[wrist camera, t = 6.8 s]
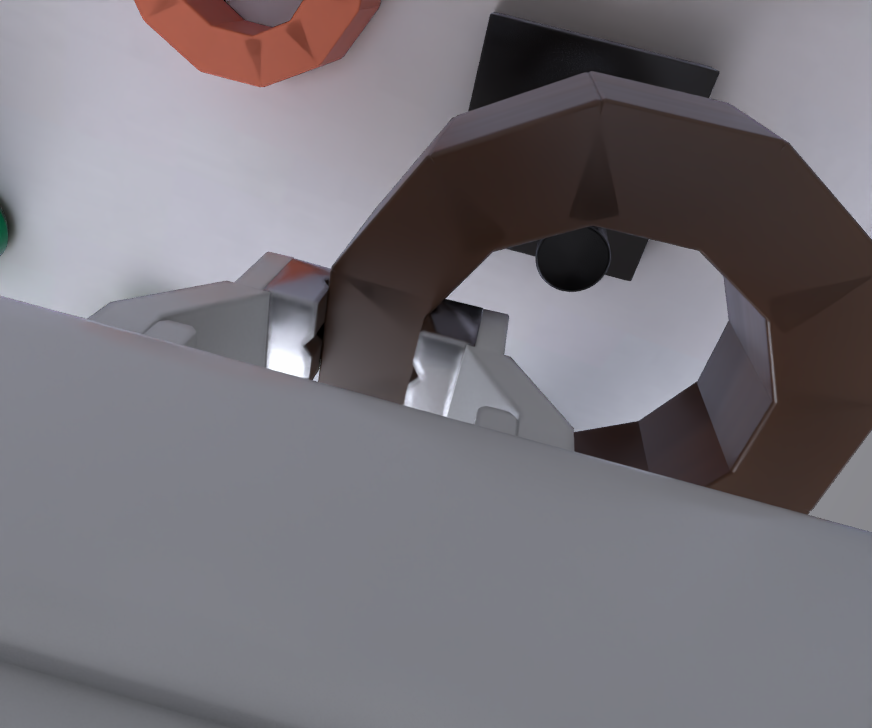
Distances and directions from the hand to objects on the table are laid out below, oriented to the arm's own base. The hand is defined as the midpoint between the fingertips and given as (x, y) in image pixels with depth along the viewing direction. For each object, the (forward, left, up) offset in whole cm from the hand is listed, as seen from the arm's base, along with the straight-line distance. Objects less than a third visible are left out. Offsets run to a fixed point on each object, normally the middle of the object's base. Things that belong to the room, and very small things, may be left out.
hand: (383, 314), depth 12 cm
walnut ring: (0, +4, -2) cm, 5 cm away
